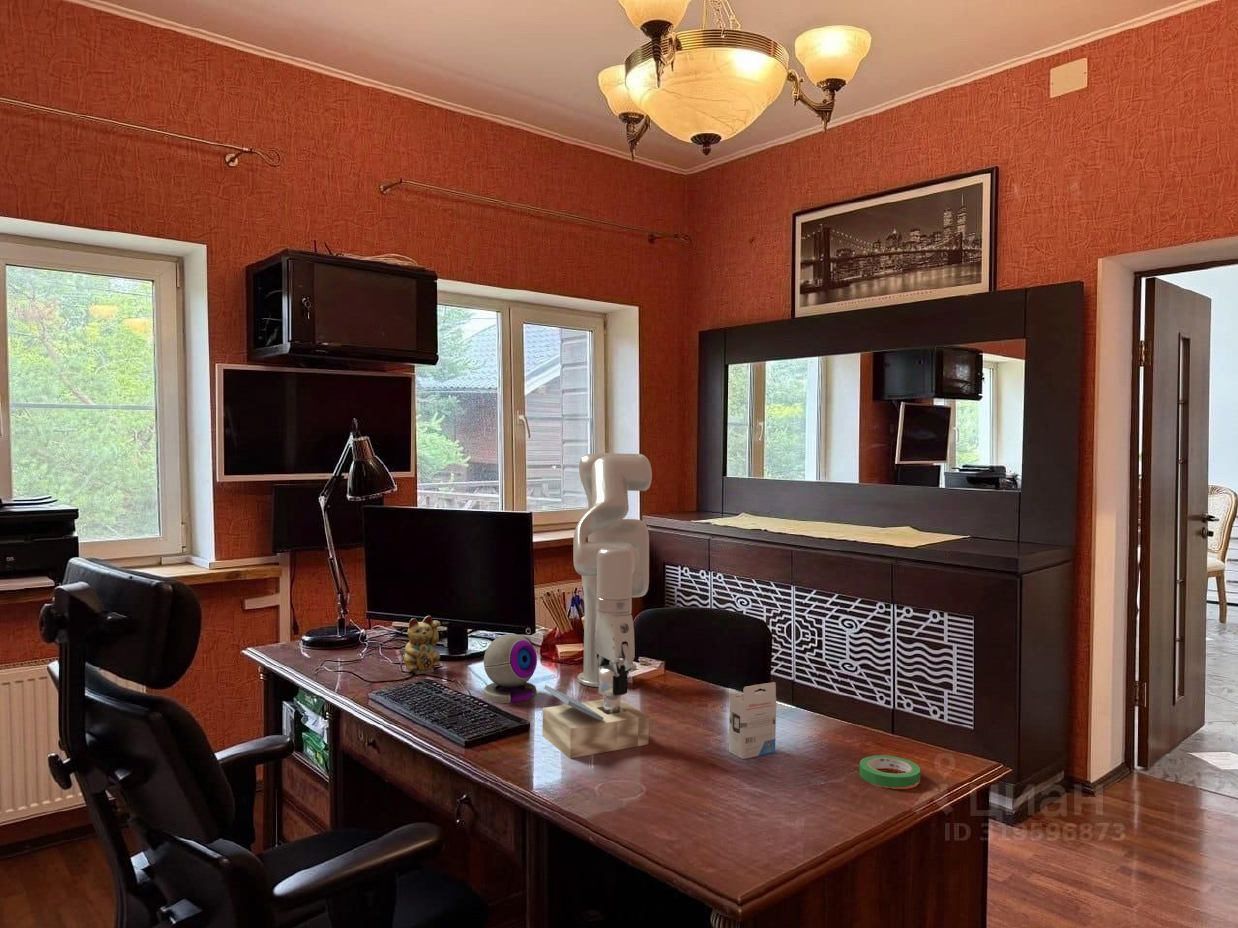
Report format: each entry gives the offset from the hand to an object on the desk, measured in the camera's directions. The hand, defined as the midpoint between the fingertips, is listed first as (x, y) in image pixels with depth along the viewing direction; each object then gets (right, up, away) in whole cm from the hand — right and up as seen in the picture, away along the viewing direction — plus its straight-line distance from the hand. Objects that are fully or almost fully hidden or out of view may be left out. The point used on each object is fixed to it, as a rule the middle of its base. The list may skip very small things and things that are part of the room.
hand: (612, 689), depth 182 cm
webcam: (-26, -9, +29) cm, 40 cm away
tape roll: (+53, -13, -18) cm, 58 cm away
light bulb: (0, -6, 0) cm, 6 cm away
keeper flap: (-8, -2, -4) cm, 10 cm away
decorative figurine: (-52, -8, +49) cm, 72 cm away
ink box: (+29, -11, -7) cm, 32 cm away
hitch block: (-4, -10, -1) cm, 11 cm away
